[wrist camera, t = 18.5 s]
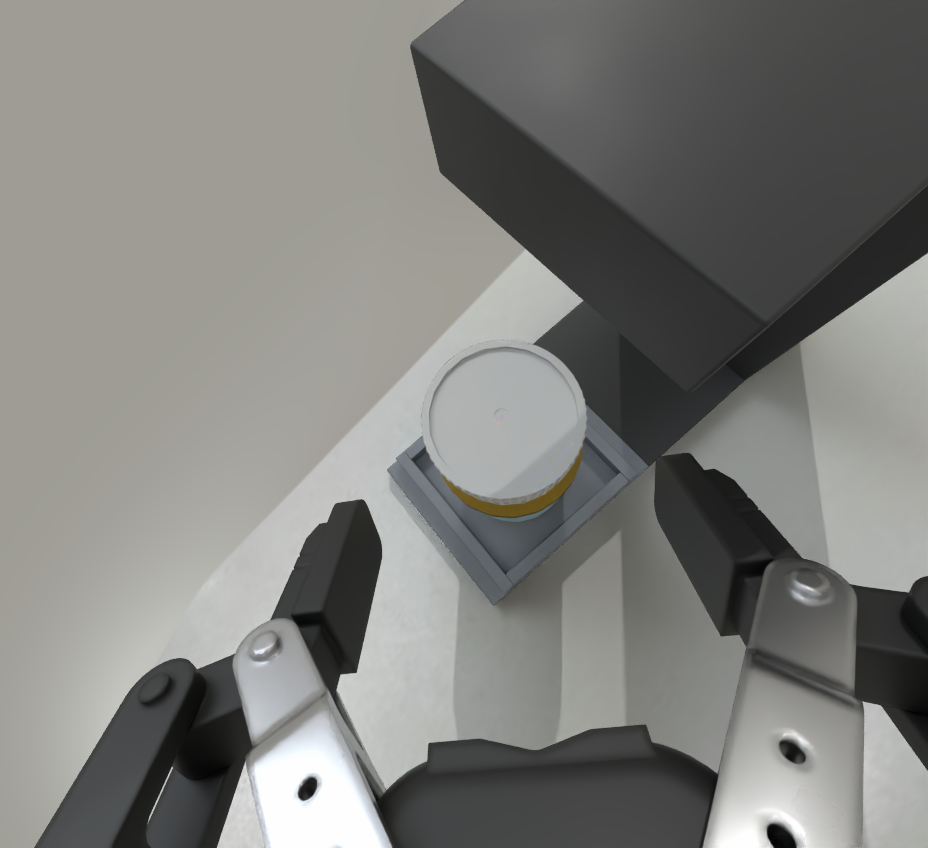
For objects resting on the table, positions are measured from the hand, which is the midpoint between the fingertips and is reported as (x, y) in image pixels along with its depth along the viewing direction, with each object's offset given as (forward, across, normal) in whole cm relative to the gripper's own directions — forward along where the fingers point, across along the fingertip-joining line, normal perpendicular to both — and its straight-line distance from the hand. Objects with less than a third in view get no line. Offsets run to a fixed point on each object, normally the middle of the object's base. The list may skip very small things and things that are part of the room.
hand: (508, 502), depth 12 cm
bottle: (+15, 0, +10) cm, 19 cm away
